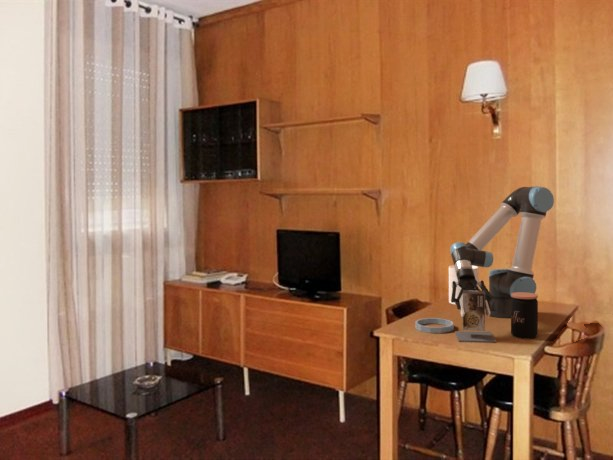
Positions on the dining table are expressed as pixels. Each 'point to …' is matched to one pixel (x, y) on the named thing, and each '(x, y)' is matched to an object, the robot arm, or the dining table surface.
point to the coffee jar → (524, 315)
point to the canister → (454, 278)
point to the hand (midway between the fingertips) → (476, 315)
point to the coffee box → (474, 310)
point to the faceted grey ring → (434, 329)
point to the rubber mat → (474, 336)
